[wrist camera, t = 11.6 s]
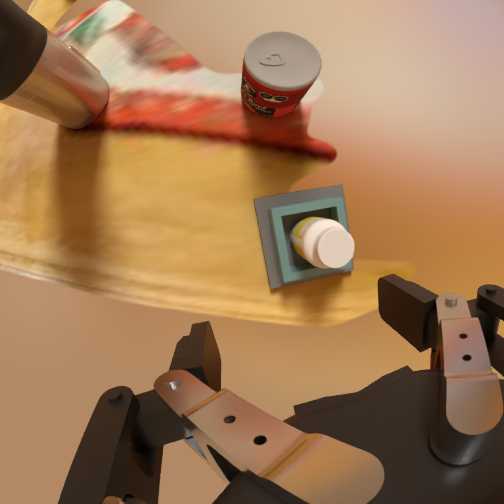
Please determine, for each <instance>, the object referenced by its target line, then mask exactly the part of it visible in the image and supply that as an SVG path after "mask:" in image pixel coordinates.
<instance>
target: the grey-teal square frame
mask: <svg viewBox="0 0 504 504" xmlns="http://www.w3.org/2000/svg"><path fill="white" fill-rule="evenodd" d="M254 204H255V209H256V215H257V220H258V225H259V230H260V236H261V241H262V246H263V252H264V257H265V262H266V268H267V273H268V278H269V284H270V288H271V289H274V288H278V287H283V286H288V285H292V284H297V283H301V282H306V281H310V280H314V279H319V278H323V277H327V276H332V275H336V274H340V273H344V272H348V271H352V270H354V269H353V259H352V258H351V260H350V261H349V262H348V263H347V264H346V265H345V266H343V267H340V268H319V267H316V266H314V265H312V264H311V263H310V262H308V261H307V260H306V259H304V258H303V257H302V256H300V255H299V254H298V253H297V252H296V251H295V250H294V249H293V247H292V245H291V242H290V232H291V229H292V227H293V225H294V224H295V223H296V222H297V221H298V220H299V219H301V218H304V217H308V216H314V217H320V218H326V219H331V220H334V221H337V222H338V223H340V224H341V225H342V226H343V227H344V228H345V230H346V231H347V232H348V233H349V234H350V232H349V225H348V218H347V211H346V204H345V198H344V192H343V186H342V185H335V186H328V187H321V188H315V189H309V190H303V191H296V192H290V193H284V194H279V195H273V196H268V197H262V198H257V199H254Z"/></svg>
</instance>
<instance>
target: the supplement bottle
mask: <svg viewBox="0 0 504 504" xmlns="http://www.w3.org/2000/svg"><path fill="white" fill-rule="evenodd" d="M290 242H291V245H292V247H293V249H294V250H295V251H296V252H297V253H298V254H299V255H300V256H302V257H303V258H304V259H306V260H307V261H308V262H310V263H311V264H312V265H314V266H316V267H319V268H340V267H343V266H345V265H346V264H347V263H348V262H349V261H350V260H351V258H352V256H353V254H354V241H353V238H352V236H351V235H350V234H349V233H348V232H347V231H346V230H345V228H344V227H343V226H342V225H341V224H340V223H338V222H337V221H334V220H331V219H326V218H320V217H314V216H308V217H304V218H301V219H299V220H298V221H297V222H296V223H295V224H294V225H293V227H292V229H291V232H290Z"/></svg>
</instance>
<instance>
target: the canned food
mask: <svg viewBox="0 0 504 504" xmlns="http://www.w3.org/2000/svg"><path fill="white" fill-rule="evenodd" d="M321 66H322V65H321V57H320V54H319V52H318V51H317V49H316V48H315V47H314V45H313V44H311V42H309V41H308V40H307V39H305V38H303V37H301V36H299V35H297V34H294V33H291V32H285V31H272V32H267V33H264V34H261V35H259V36H257V37H256V38H254V39H253V40H252V41H251V42H250V43H249V45H248V46H247V48H246V50H245V53H244V59H243V70H242V84H241V96H242V99H243V102H244V103H245V105H246V106H247V107H248V108H249V109H250V110H251V111H252V112H254V113H255V114H257V115H260V116H263V117H270V118H273V117H280V116H284V115H286V114H288V113H290V112H291V111H293V110H294V109H295V107H296V106H297V105H298V103H299V102H300V101H301V99H302V98H303V97H304V95H305V94H306V93H307V91H308V90H309V89H310V87H311V86H312V84H313V83H314V81H315V80H316V79H317V77H318V75H319V73H320V70H321Z"/></svg>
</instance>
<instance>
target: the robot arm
mask: <svg viewBox="0 0 504 504" xmlns="http://www.w3.org/2000/svg"><path fill="white" fill-rule="evenodd" d="M108 95H109V87H108V84H107V82H106V80H105V79H104V78H103V77H102V76H101V75H100V71H99V70H98V69H97V68H96V67H95V66H94V65H93V64H92V63H91V62H89V61H88V60H87V59H86V58H85V57H84V56H83V55H82V54H81V53H79V52H78V51H77V50H76V49H75V48H74V47H72V46H69V47H68V46H67V45H65V44H64V43H63V42H62V41H61V40H60V39H58V38H57V37H56V36H55V35H54V34H52V33H51V32H50V31H49V30H48V29H46V28H45V27H44V26H43V25H41V24H40V23H39V22H38V21H36V20H35V19H34V18H32V17H31V16H30V15H28V14H27V13H26V12H25V11H23V10H22V9H21V8H20V7H19V6H18V5H17V4H16V3H15V2H13V1H12V0H0V103H3V104H6V105H9V106H12V107H15V108H17V109H20V110H23V111H26V112H28V113H31V114H34V115H37V116H39V117H42V118H45V119H47V120H50V121H52V122H55V123H58V124H60V125H63V126H65V127H68V128H71V129H80V128H83V127H85V126H87V125H89V124H90V123H92V122H93V121H94V120H95V119H96V118H97V117H98V116H99V115H100V113H101V112H102V111H103V109H104V107H105V105H106V103H107V100H108ZM378 303H379V313H380V316H381V318H382V319H383V320H384V321H385V322H386V323H387V324H388V325H390V326H391V327H392V328H393V329H394V330H395V331H397V332H398V333H399V334H400V335H401V336H402V337H403V338H405V339H406V340H407V341H408V342H409V343H410V344H411V345H413V346H414V347H415V348H416V349H417V350H418V351H419V352H422V351H425V350H427V349H429V348H432V349H431V356H430V370H420V371H414V372H413V371H412V370H411V369H410V368H409V367H408V366H405V367H403V368H400V369H399V370H396V371H394V372H392V373H389V374H387V375H384V376H382V377H381V378H379V379H378V380H377V381H375V382H373V383H372V384H370V385H369V386H367V387H365V388H364V389H362V390H360V391H358V392H355V393H349V394H343V395H336V396H330V397H323V398H320V399H317V400H313V401H310V402H306V403H302V404H299V405H295V406H294V411H295V415H293V416H291V417H289V418H288V419H286V420H284V421H281V420H279V419H277V418H275V417H273V416H271V415H270V414H268V413H266V412H264V411H263V410H261V409H259V408H257V407H256V406H254V405H252V404H250V403H249V402H247V401H246V400H244V399H242V398H241V397H239V396H237V395H236V394H234V393H232V392H231V391H229V390H227V389H225V388H224V389H221V358H220V353H219V349H218V346H217V343H216V340H215V337H214V334H213V331H212V327H211V324H210V322H209V321H206V322H201V323H195V324H192V328H191V332H190V335H189V336H183V337H182V338H181V340H180V341H179V342H178V343H177V345H176V349H175V352H174V356H173V358H172V362H171V365H170V368H169V372H166V373H164V374H162V375H161V376H159V377H158V378H157V379H156V381H155V383H154V389H153V390H151V391H148V392H145V393H142V394H138V395H134V393H133V391H132V390H131V389H130V388H128V387H126V386H118V387H114V388H112V389H109V390H108V391H106V392H105V393H104V394H102V396H101V397H100V399H99V401H98V403H97V405H96V407H95V409H94V412H93V414H92V416H91V418H90V421H89V423H88V425H87V428H86V430H85V432H84V435H83V437H82V439H81V442H80V444H79V447H78V449H77V452H76V454H75V457H74V459H73V462H72V465H71V467H70V470H69V473H68V476H67V478H66V481H65V484H64V487H63V490H62V492H61V495H60V499H59V502H58V504H158V496H159V483H160V473H161V464H162V454H163V446H164V445H165V444H168V443H171V442H175V441H178V440H181V439H183V440H184V441H185V442H186V443H187V444H188V445H189V446H190V447H191V448H192V449H193V450H194V451H195V452H196V453H197V454H198V455H199V456H200V457H201V458H202V459H203V460H204V461H205V462H206V463H207V464H208V465H209V466H210V467H211V468H212V469H213V470H214V471H215V472H216V473H217V475H218V476H219V477H220V478H221V479H222V480H223V481H224V482H225V483H226V484H227V485H228V486H227V487H226V488H225V489H224V491H223V492H222V493H221V494H220V495H219V496H218V497H217V499H216V500H215V501H214V502H213V503H212V504H504V380H502V379H498V376H497V374H496V373H493V372H492V369H491V366H492V367H493V368H494V369H496V370H497V371H498V372H499V373H500V374H502V376H504V338H502V337H501V336H500V335H498V334H497V330H498V325H499V321H500V319H501V320H503V321H504V289H503V288H501V287H499V286H497V285H490V284H489V285H483V286H481V287H479V288H478V291H477V298H476V299H473V300H469V301H466V299H465V297H463V296H462V295H459V294H455V293H448V294H443V295H441V296H438V295H436V294H435V293H432V292H431V291H429V290H427V289H426V290H425V288H423V287H420V285H418V284H416V283H414V282H410V281H406V280H404V279H402V278H400V277H398V276H396V275H395V274H391V275H388V276H385V277H381V278H379V280H378Z"/></svg>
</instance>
